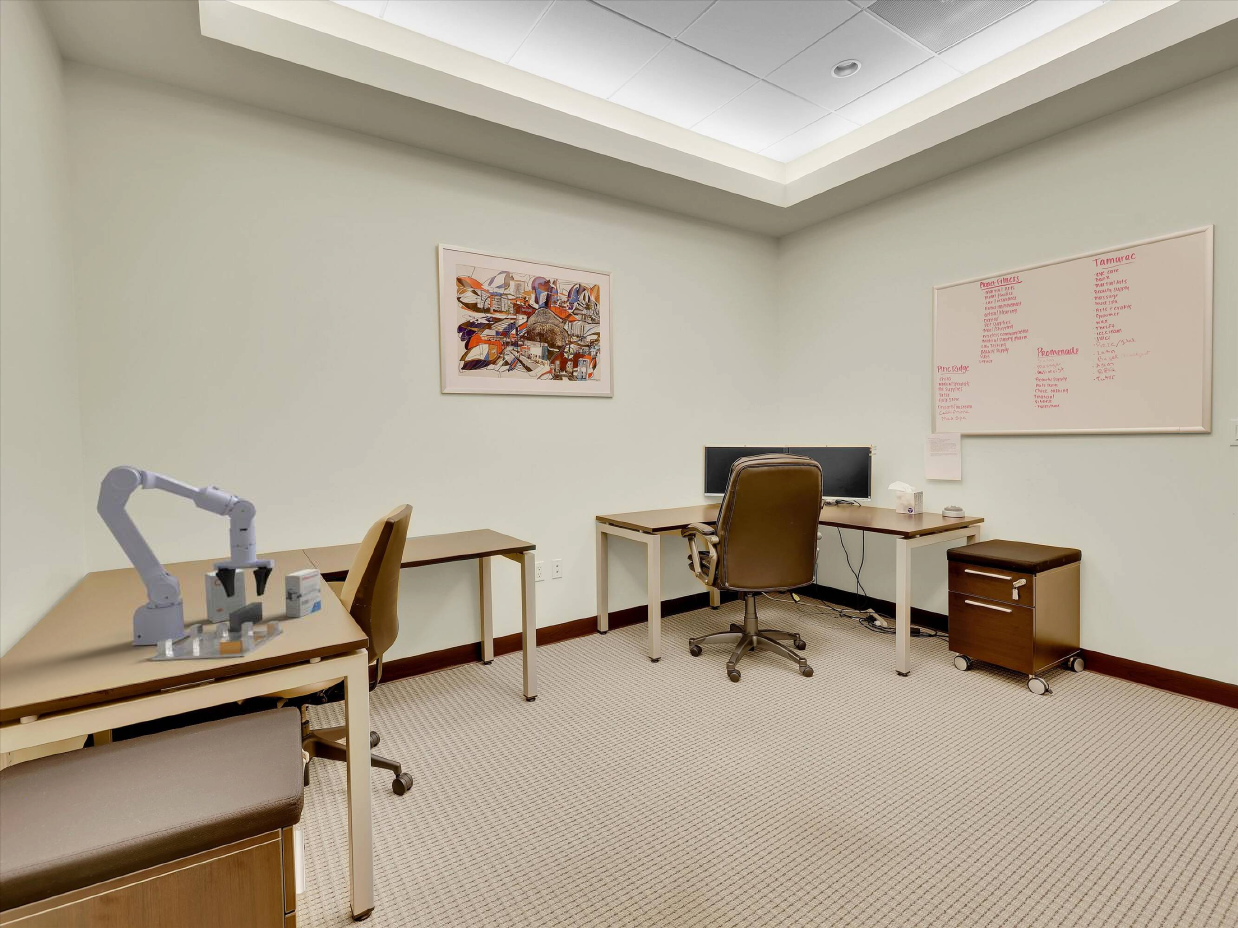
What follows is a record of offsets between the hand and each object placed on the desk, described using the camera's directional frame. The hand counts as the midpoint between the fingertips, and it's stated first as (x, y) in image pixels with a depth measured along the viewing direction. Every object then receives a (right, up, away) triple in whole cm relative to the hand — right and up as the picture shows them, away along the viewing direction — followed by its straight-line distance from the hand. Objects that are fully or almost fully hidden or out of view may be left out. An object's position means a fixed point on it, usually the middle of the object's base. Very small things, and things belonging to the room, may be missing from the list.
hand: (245, 595), depth 156 cm
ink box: (+9, -8, +11) cm, 17 cm away
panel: (0, -8, 0) cm, 8 cm away
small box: (-10, -8, +8) cm, 15 cm away
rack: (+4, -8, -16) cm, 18 cm away
